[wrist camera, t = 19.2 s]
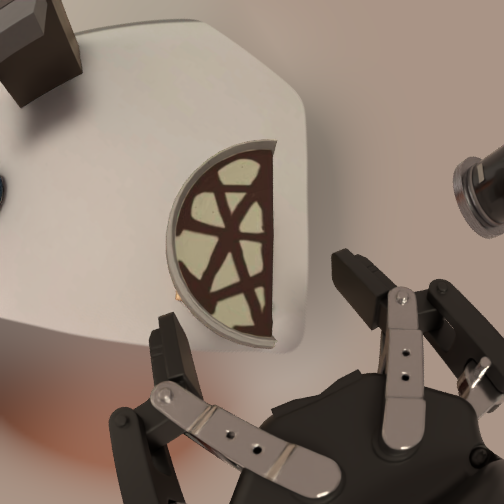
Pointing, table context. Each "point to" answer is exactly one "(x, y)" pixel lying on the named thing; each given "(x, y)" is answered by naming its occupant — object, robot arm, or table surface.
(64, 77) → the block
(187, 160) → the table surface
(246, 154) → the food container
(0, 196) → the soda can
